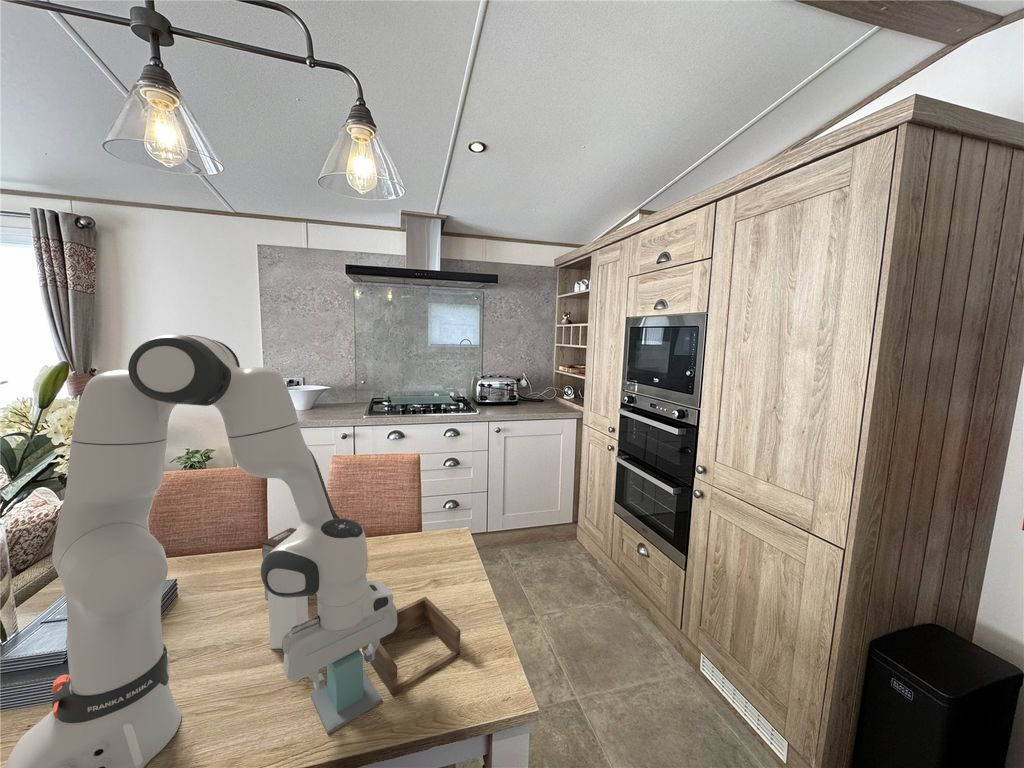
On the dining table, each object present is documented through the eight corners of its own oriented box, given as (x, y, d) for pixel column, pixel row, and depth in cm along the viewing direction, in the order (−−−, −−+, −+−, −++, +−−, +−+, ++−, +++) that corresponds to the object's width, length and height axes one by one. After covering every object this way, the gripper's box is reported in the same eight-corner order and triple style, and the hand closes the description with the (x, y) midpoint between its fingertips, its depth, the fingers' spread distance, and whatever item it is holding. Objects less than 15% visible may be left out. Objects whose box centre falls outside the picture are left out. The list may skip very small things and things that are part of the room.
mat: (327, 734, 70) (327, 731, 70) (310, 696, 78) (310, 693, 78) (381, 701, 77) (381, 698, 77) (361, 668, 84) (361, 666, 84)
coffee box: (293, 579, 114) (291, 526, 112) (310, 585, 112) (308, 530, 110) (263, 599, 106) (260, 541, 104) (281, 605, 103) (279, 546, 102)
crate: (392, 696, 78) (392, 668, 77) (362, 651, 89) (361, 626, 88) (460, 654, 89) (460, 629, 88) (425, 618, 100) (425, 596, 99)
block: (336, 713, 74) (335, 668, 73) (327, 694, 77) (326, 652, 76) (363, 697, 77) (362, 654, 76) (353, 680, 81) (352, 639, 80)
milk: (270, 649, 89) (264, 556, 86) (282, 629, 95) (278, 542, 92) (298, 647, 90) (294, 555, 87) (309, 628, 96) (305, 541, 93)
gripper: (286, 642, 66) (289, 717, 67) (400, 592, 80) (401, 655, 81) (277, 622, 70) (280, 692, 72) (386, 577, 84) (387, 637, 86)
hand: (345, 672), depth 77 cm, fingers open, 8 cm apart
